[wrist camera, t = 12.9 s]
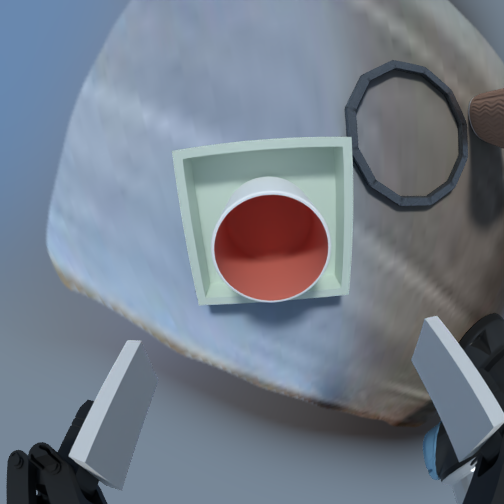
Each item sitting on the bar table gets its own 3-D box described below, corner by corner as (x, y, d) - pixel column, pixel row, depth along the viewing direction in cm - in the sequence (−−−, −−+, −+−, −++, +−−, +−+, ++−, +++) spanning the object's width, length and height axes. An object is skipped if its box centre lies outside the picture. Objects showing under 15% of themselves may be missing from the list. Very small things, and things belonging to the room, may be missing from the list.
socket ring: (461, 203, 30) (465, 205, 29) (348, 205, 31) (351, 207, 30) (457, 78, 23) (461, 77, 22) (338, 55, 24) (340, 53, 23)
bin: (340, 278, 35) (348, 294, 31) (204, 288, 36) (199, 305, 33) (340, 137, 28) (351, 137, 24) (182, 149, 29) (171, 151, 26)
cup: (301, 165, 29) (319, 177, 20) (318, 247, 33) (338, 289, 24) (214, 187, 30) (194, 209, 21) (238, 265, 34) (230, 312, 25)
